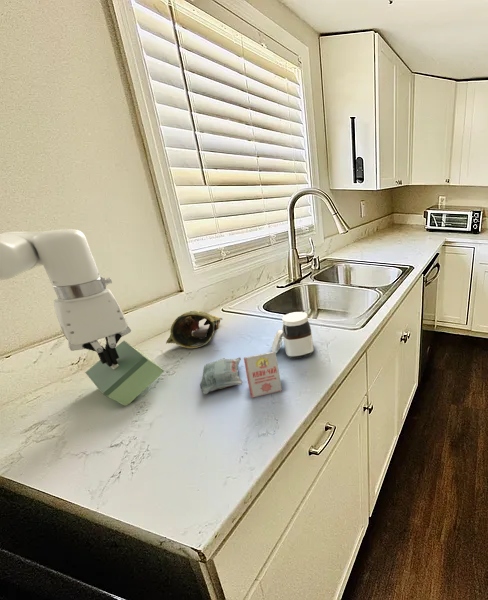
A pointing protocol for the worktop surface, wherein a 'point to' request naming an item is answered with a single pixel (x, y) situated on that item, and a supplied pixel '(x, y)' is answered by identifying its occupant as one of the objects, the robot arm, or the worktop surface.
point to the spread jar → (294, 336)
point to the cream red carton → (262, 374)
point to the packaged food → (220, 375)
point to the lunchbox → (125, 374)
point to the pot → (192, 329)
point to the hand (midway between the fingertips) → (111, 363)
